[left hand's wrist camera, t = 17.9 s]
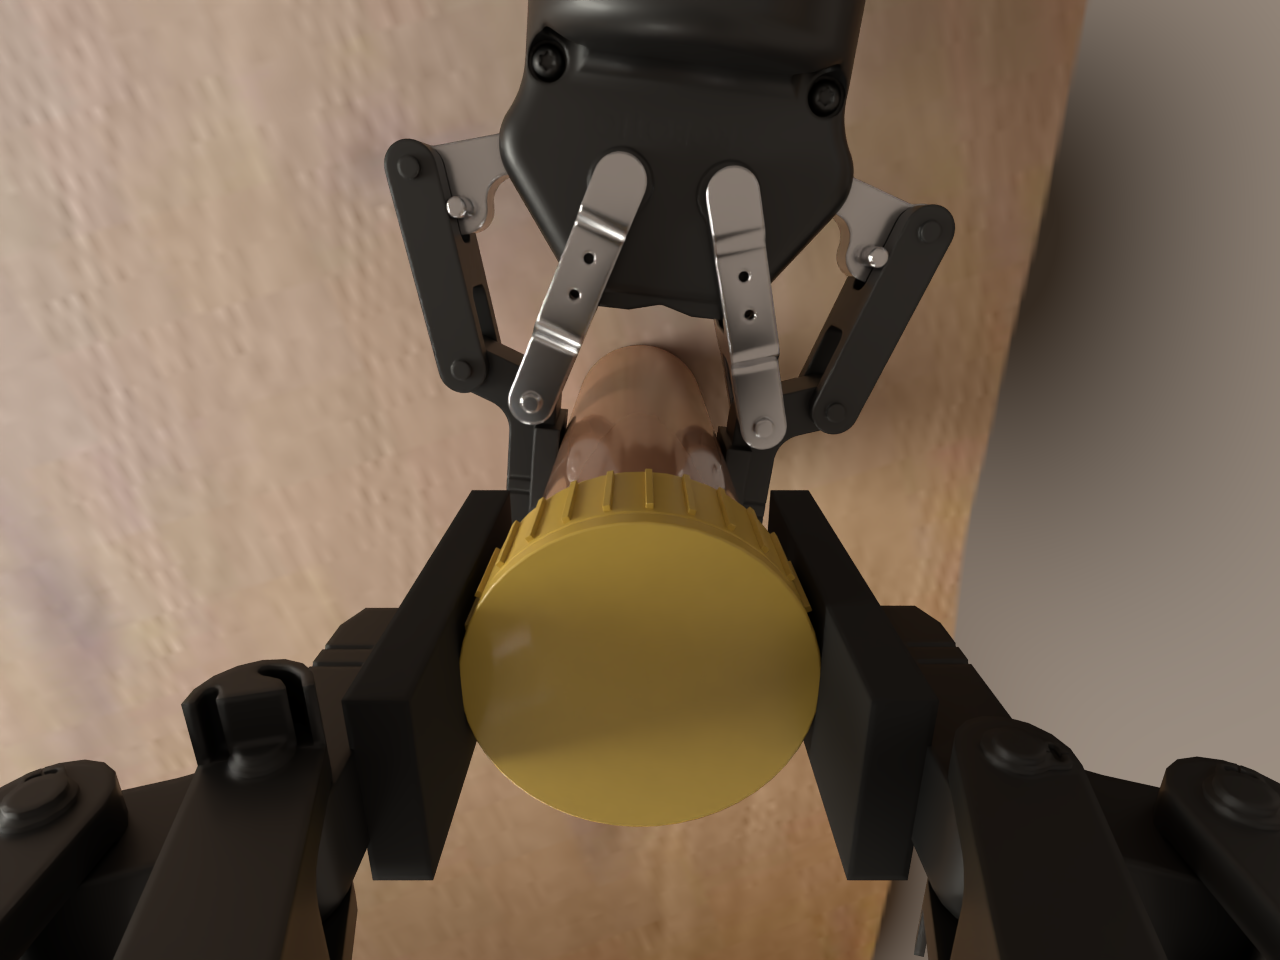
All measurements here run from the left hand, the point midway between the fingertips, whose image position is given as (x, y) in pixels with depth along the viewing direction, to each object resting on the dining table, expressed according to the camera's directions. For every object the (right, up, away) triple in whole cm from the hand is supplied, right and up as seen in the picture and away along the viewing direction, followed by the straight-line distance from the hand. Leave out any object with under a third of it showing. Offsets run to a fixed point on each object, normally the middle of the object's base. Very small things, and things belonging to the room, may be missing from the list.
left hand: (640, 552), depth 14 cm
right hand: (0, 0, +7) cm, 6 cm away
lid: (0, -1, -4) cm, 4 cm away
